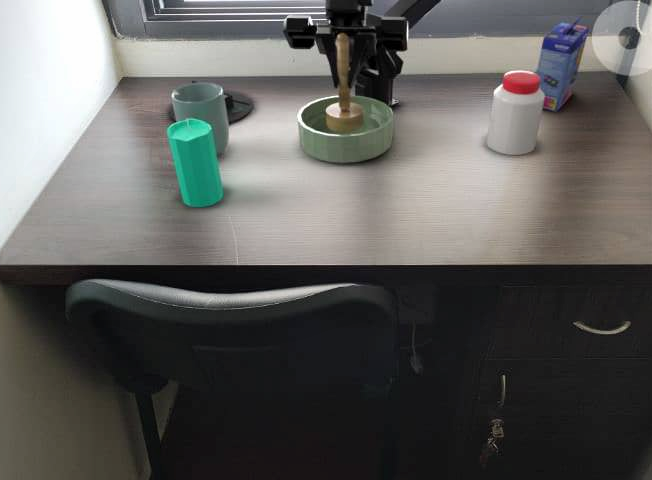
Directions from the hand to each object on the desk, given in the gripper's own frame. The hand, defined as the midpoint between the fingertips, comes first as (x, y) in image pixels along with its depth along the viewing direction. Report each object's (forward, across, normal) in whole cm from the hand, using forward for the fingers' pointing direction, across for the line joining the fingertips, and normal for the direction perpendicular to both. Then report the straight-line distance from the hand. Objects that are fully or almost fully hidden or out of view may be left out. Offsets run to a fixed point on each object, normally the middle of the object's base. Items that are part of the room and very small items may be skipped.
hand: (342, 87), depth 92 cm
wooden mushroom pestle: (+4, 0, +6) cm, 7 cm away
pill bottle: (+5, +27, +10) cm, 29 cm away
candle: (+19, -19, -5) cm, 27 cm away
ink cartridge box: (-8, +36, +23) cm, 43 cm away
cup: (+10, -22, +4) cm, 24 cm away
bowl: (+6, 0, +8) cm, 10 cm away
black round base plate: (-2, -26, +16) cm, 31 cm away
